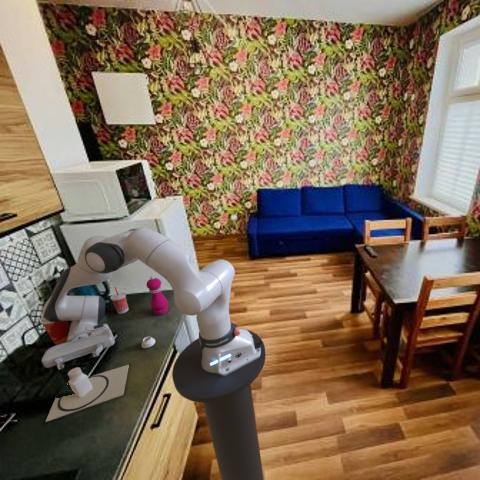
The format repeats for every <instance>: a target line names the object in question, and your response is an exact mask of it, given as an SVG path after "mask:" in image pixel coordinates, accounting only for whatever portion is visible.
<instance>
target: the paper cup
mask: <svg viewBox="0 0 480 480" xmlns="http://www.w3.org/2000/svg"><path fill="white" fill-rule="evenodd" d="M40 324H42V326H43V327H44V329H45V331H46V332H47V334H48V335H49V337H50V339H51V341H52V342H53V343H54V346H56V345H60V344H63V343H66V342H67V338H68V334H69V331H70V324H69V321H59V322H50V321H48V320H46V319H45V318H44V317H43V315H42V316H41V317H40Z"/></svg>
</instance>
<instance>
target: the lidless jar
mask: <svg viewBox="0 0 480 480" xmlns="http://www.w3.org/2000/svg"><path fill="white" fill-rule="evenodd" d="M155 344H156V339H155V338H153V337H152V336H145V337H144V338H143V339H142V341H141V348H142V349H149V348H150V347H153V346H154V345H155Z"/></svg>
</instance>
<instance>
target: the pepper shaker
mask: <svg viewBox="0 0 480 480" xmlns="http://www.w3.org/2000/svg"><path fill="white" fill-rule="evenodd" d="M67 376H68V378H69V380H68V381H67V384H68V383H69V385H70V387H71V389H72V391H73V392H74V393H75V395H77V396H79V397H82V396H84V395H85V394H86V393H88V392H89V391H90V390H92V385H91V383H90V381H89V379H88V377H89V376H88V375H87V374H85V373H83V371H82V369H81V367H74V368H72V369H70V370H69V371H68V372H67Z"/></svg>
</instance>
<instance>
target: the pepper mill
mask: <svg viewBox="0 0 480 480" xmlns="http://www.w3.org/2000/svg"><path fill="white" fill-rule="evenodd" d="M146 288H147V289H148V291H149V294H151V301H150V308H151V309H152V311H153V314H154V315H156V316H161V315H164V314H166V313H167V312H168V311H169V306H168V305H169V302H168V300H167V297H166V296H164V295H163V293H162V281H161V279H160V278H157V277H155V276H154V275H151V276H150V277H149V279H148V280H147V282H146Z"/></svg>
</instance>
